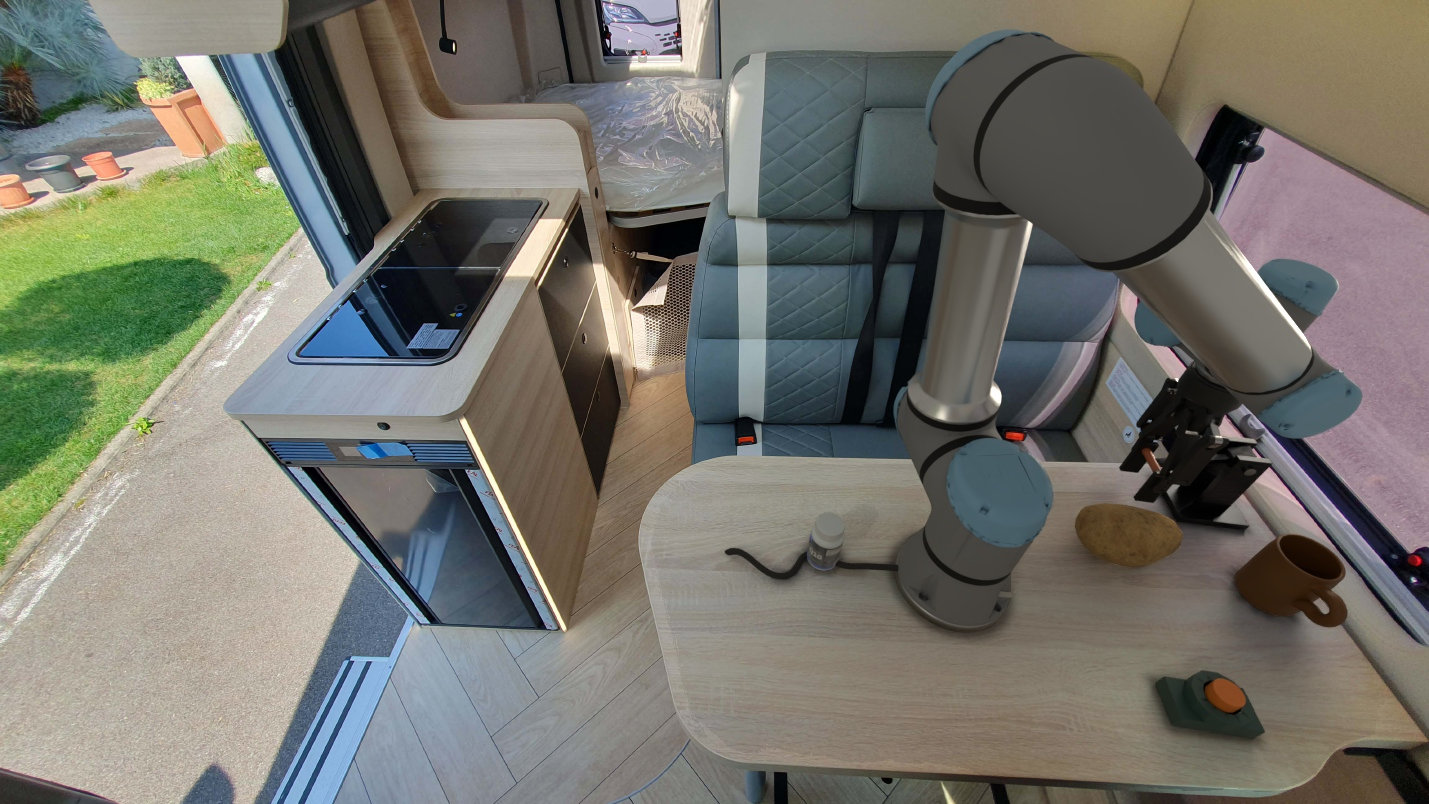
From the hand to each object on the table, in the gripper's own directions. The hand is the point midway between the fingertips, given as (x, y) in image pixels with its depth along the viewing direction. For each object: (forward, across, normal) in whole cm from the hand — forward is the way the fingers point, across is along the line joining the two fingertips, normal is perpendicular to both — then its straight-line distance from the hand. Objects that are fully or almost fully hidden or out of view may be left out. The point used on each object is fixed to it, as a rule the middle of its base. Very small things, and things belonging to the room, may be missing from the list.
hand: (1135, 484), depth 93 cm
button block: (+3, -34, +3) cm, 34 cm away
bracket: (+3, 0, -11) cm, 11 cm away
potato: (+3, -12, +6) cm, 14 cm away
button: (-1, -34, +3) cm, 34 cm away
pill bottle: (+3, -20, +49) cm, 53 cm away
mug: (+3, -18, -13) cm, 22 cm away
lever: (-6, 0, -6) cm, 8 cm away
